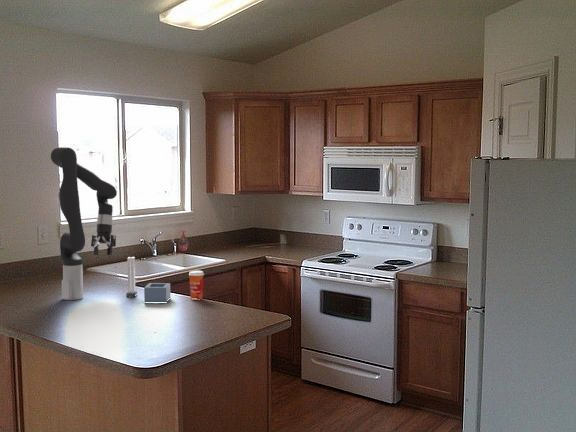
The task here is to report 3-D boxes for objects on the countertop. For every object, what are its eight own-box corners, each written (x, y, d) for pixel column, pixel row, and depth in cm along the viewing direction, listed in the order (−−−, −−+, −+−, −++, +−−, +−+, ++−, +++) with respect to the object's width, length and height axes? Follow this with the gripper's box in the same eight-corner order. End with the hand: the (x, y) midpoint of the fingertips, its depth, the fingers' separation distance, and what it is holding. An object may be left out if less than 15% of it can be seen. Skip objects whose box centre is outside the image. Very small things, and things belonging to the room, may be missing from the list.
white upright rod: (126, 297, 319) (125, 258, 317) (128, 295, 323) (127, 256, 322) (134, 297, 319) (134, 258, 317) (137, 295, 323) (136, 256, 321)
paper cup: (185, 299, 314) (185, 272, 313) (194, 296, 321) (194, 269, 320) (198, 301, 310) (198, 273, 309) (207, 298, 317) (207, 271, 316)
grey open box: (166, 303, 305) (166, 287, 304) (144, 303, 305) (144, 287, 304) (170, 299, 316) (170, 283, 315) (149, 298, 316) (149, 283, 315)
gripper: (88, 223, 325) (86, 254, 323) (110, 222, 319) (108, 254, 317) (99, 224, 332) (97, 255, 330) (120, 224, 326) (118, 255, 324)
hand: (102, 255), depth 324 cm, fingers open, 8 cm apart
